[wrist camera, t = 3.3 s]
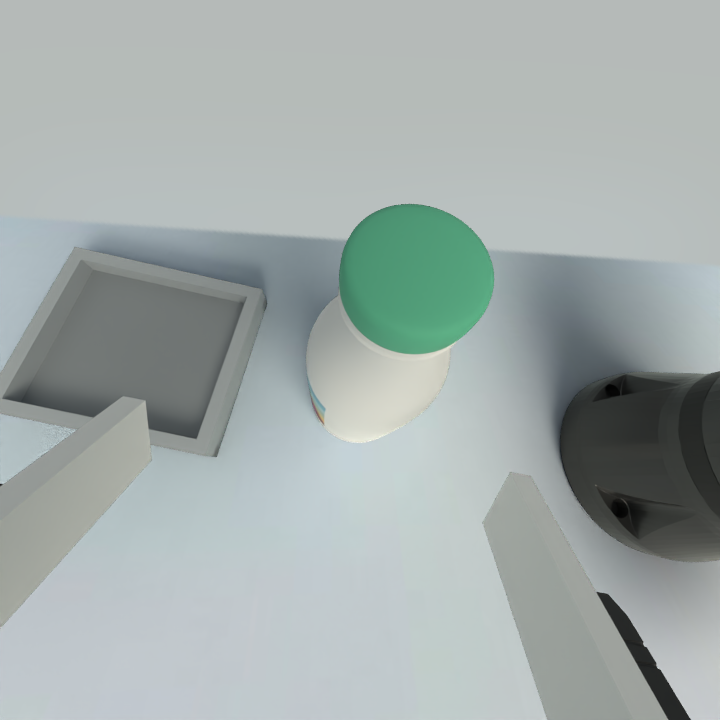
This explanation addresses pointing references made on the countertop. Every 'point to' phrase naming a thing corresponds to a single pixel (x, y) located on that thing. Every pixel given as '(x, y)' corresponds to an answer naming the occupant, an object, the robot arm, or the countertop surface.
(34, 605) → the countertop surface
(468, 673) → the countertop surface
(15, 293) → the countertop surface
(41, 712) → the countertop surface
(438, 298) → the milk bottle
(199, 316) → the tray
